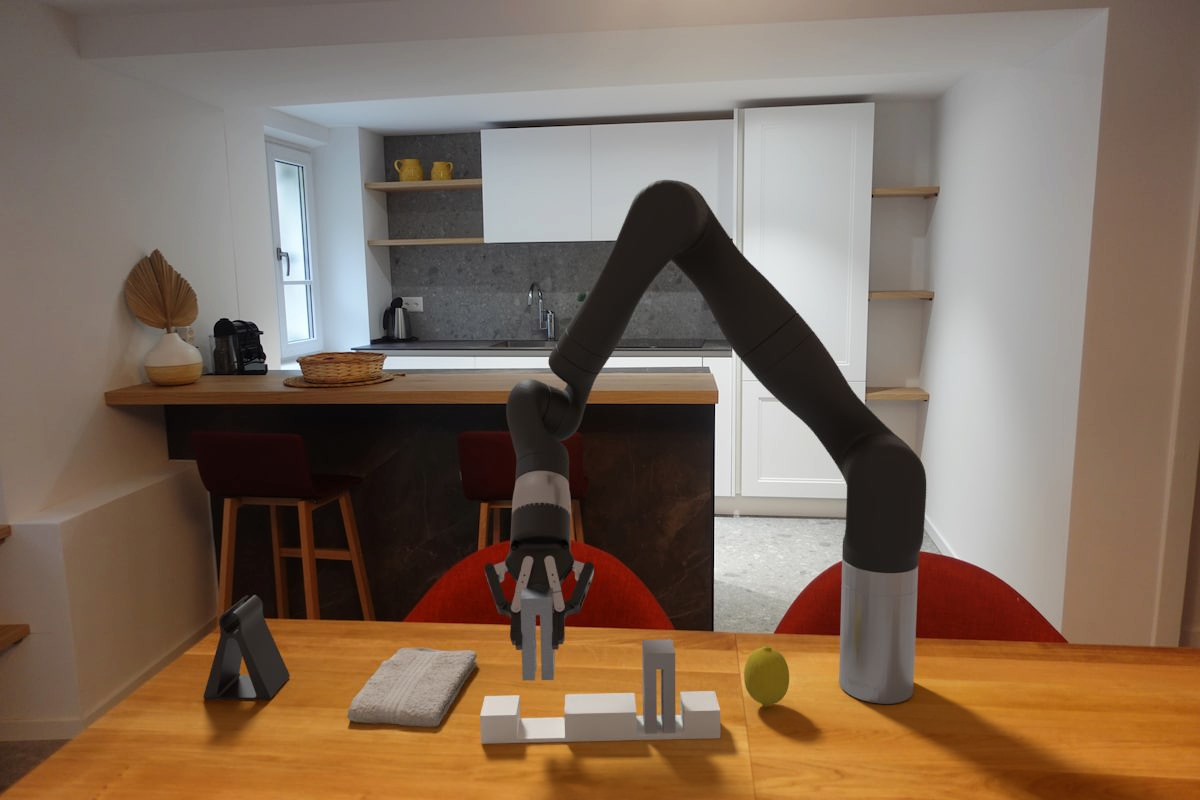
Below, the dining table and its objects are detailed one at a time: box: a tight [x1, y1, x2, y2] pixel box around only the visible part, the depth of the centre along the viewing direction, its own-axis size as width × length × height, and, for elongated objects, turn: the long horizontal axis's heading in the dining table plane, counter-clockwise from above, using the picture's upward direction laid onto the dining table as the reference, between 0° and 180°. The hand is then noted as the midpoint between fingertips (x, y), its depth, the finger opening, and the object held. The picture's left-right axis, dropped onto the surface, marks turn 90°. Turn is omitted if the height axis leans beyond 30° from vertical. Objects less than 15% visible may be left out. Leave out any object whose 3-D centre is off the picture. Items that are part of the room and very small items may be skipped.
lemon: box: [743, 645, 790, 708], centre depth 101 cm, size 6×6×8 cm
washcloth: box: [347, 647, 478, 728], centre depth 107 cm, size 12×18×3 cm, turn 173°
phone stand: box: [202, 594, 291, 701], centre depth 108 cm, size 9×6×12 cm, turn 87°
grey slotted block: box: [520, 586, 556, 681], centre depth 95 cm, size 4×4×10 cm
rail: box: [479, 638, 721, 745], centre depth 96 cm, size 28×4×10 cm, turn 91°
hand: (537, 646), depth 93 cm, fingers closed on grey slotted block, 3 cm apart
